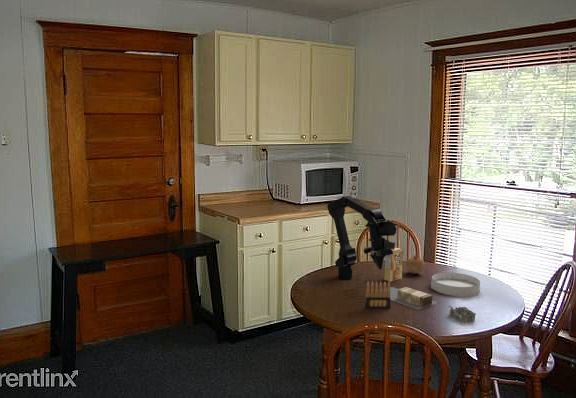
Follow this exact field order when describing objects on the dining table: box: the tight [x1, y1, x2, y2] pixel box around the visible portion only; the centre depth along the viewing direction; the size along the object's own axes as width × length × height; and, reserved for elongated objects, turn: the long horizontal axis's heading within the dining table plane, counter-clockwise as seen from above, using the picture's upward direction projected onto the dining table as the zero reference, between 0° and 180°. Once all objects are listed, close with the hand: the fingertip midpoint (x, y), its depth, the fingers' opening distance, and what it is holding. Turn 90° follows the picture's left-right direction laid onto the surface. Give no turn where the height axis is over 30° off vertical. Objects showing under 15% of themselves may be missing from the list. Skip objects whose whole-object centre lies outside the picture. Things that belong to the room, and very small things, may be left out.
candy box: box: [383, 247, 404, 283], centre depth 260 cm, size 9×4×15 cm, turn 129°
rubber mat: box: [382, 286, 438, 311], centre depth 235 cm, size 26×14×1 cm, turn 39°
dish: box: [430, 272, 481, 298], centre depth 248 cm, size 22×22×5 cm
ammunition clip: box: [364, 280, 391, 310], centre depth 222 cm, size 11×2×12 cm, turn 90°
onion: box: [405, 254, 426, 275], centre depth 270 cm, size 10×9×10 cm
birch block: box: [397, 286, 433, 308], centre depth 230 cm, size 4×6×14 cm
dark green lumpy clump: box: [448, 305, 477, 324], centre depth 213 cm, size 11×8×4 cm
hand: (380, 269), depth 244 cm, fingers closed
